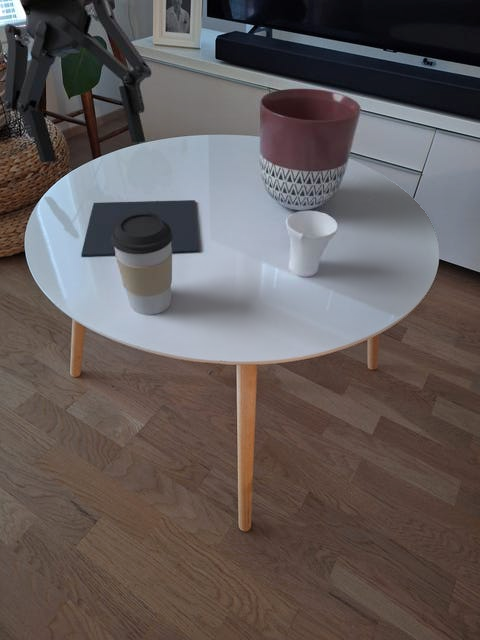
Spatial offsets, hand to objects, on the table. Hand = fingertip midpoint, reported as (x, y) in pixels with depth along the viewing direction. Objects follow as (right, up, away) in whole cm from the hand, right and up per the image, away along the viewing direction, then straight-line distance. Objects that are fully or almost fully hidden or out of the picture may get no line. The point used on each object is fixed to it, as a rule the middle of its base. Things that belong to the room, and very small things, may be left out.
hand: (92, 152), depth 62 cm
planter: (+33, +4, +42) cm, 54 cm away
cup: (+32, -13, +24) cm, 42 cm away
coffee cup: (+5, -20, +16) cm, 25 cm away
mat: (0, -3, +33) cm, 33 cm away
